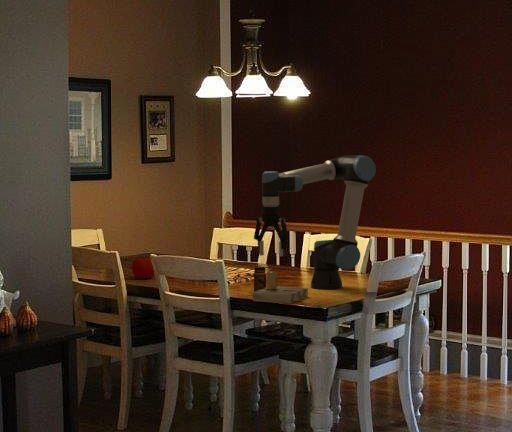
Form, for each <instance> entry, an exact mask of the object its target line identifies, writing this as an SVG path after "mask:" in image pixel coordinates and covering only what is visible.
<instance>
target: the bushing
mask: <svg viewBox="0 0 512 432" xmlns="http://www.w3.org/2000/svg"><path fill="white" fill-rule="evenodd" d="M277 276H278V275H277V271H267V272H266V283H267V290H268V291H276V290H277V286H278V285H277V284H278V281H277V280H278V279H277Z"/></svg>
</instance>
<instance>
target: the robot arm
mask: <svg viewBox="0 0 512 432" xmlns="http://www.w3.org/2000/svg"><path fill="white" fill-rule="evenodd" d="M376 168H377V167H376V163H375V162H374V161H373V159H372V158H371V157H369V156H368V155H361V154H359V155H354V154H353V155H349V154H348V155H343V156H339V157H336V158H332V159H329V160H325V161H324V163H320V164H315V165H312V166H306V167H302V168H298V169H293V170H289V171H284V172H278V171H264V172H263V173H262V175H261V183H262V184H261V185H262V186H261V187H262V189H261V191H262V195H261V196H262V198H261V199H262V217H257V218H256V220H255V221H256V225H255V230H254V233H253V239H254V240H256V241H257V248H258V249H259V256H260V257H261V256H264V254H265V245H264V242H265V241H264V240H263V238H264V237H265V235H266V234H265V233H266V231H268V228H269V227H271V228H273V229H274V230H275V233H276V234H277V235H278V238H279V241H278V255H279V257H283V256H284V249H286V242H287V241H289V240H290V237H289V232H288V228H287V224H286V223H287V219H286V218H281V217H280V206H279V205H280V193H292V192H293V193H295V192H300V191H301V190H302V189H303V186H304V185H306V184H310V183H311V184H312V183H314V182H315V183H316V182H320V181H324V180H330V181H333V180H343V184H345V186H346V187H345V191H344V197H343V203H342V209H341V214H340V219H339V225H338V228H337V229H338V231H337V235H336V236H335V237H333V239H325V240H322V239H321V240H316V241H315V242H314V245H313V260H314V261H313V262H314V263H313V265H314V267H313V270H314V271H313V275H312V278H311V282H310V288H311V289H315V290H335V289H336V290H338V289H341V288H343V281H342V279H341V278H342V277H341V275H340V273H339V269H340V270H351V269H353V268H355V267H356V266H357V265H358V264H359V262H360V259H361V251H360V249H359V248H358V245H359V243H358V240H357V238H356V237H357V232H358V227H359V221H360V214H361V210H362V209H361V208H362V203H363V198H364V193H365V189H366V188H367V187H368V186H369V183H370V181H371V180H372V179H373V178H374V177H375V175H376V171H377V170H376ZM262 222H263V225H262ZM279 223H280V225H279ZM261 226H262V228H261ZM280 226H281V227H280Z"/></svg>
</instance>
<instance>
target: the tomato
mask: <svg viewBox="0 0 512 432" xmlns="http://www.w3.org/2000/svg"><path fill="white" fill-rule="evenodd" d="M150 258H151V257H147V256H145V257H144V256H142V257H141V256H139V257H137V258H135V259H134V260H133V261H132V263H131V272H132V274H133V276H134V278H136V279H139V280H144V279H145V278H147V279H151V278H153V277H154V276H155V275H154V270H153V266H152V263H151V259H152V258H151V259H150ZM145 280H146V279H145Z"/></svg>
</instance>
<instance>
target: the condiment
mask: <svg viewBox="0 0 512 432" xmlns="http://www.w3.org/2000/svg"><path fill="white" fill-rule="evenodd" d="M265 288H267V272H266V267H265V266H255V267H254V272H253V290H250V291H254V292H255V291H258V290H261V289H265Z"/></svg>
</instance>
